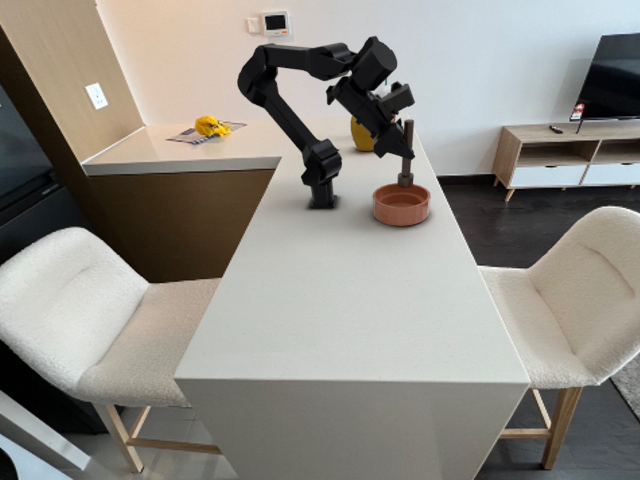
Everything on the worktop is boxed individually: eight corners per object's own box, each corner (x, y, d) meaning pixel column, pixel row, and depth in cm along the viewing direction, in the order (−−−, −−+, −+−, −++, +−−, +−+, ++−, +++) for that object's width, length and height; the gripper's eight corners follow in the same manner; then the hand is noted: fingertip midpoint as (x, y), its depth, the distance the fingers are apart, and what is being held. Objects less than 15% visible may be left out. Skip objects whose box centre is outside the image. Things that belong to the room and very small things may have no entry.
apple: (359, 157, 113) (358, 116, 105) (346, 148, 121) (344, 109, 113) (388, 151, 116) (389, 110, 108) (374, 142, 124) (373, 104, 116)
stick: (404, 189, 76) (409, 124, 67) (393, 184, 79) (396, 120, 70) (416, 184, 78) (421, 120, 69) (405, 180, 80) (409, 117, 71)
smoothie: (370, 135, 131) (369, 76, 118) (388, 131, 133) (390, 72, 121) (381, 140, 125) (381, 79, 112) (400, 136, 127) (403, 75, 115)
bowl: (430, 228, 76) (432, 207, 73) (371, 227, 78) (371, 208, 75) (426, 200, 86) (428, 182, 83) (374, 201, 88) (374, 183, 85)
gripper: (393, 78, 57) (451, 142, 63) (389, 62, 71) (436, 115, 77) (348, 129, 63) (405, 184, 68) (353, 105, 77) (399, 151, 83)
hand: (413, 156), depth 74 cm, fingers closed on stick, 2 cm apart
